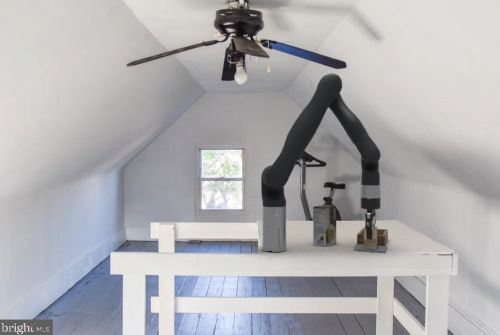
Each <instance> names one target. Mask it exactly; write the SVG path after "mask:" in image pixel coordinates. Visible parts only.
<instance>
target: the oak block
mask: <svg viewBox="0 0 500 335" xmlns="http://www.w3.org/2000/svg"><path fill="white" fill-rule="evenodd" d="M363 228H364V248H367V249H376V248H377V229H378V227H377V226H374V227H373V230H372V240H369V239H366V229H365V226H364V227H363Z"/></svg>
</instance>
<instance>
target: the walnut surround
mask: <svg viewBox="0 0 500 335" xmlns="http://www.w3.org/2000/svg"><path fill="white" fill-rule="evenodd" d="M388 239H389V229H387V228H386V229H383V228H377V245H378V246H387V243H388V241H389V240H388ZM357 244H363V245H364V227H362V228H361V229H360V230H359V232H357V233H356V245H357Z"/></svg>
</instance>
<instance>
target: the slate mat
mask: <svg viewBox="0 0 500 335" xmlns="http://www.w3.org/2000/svg"><path fill="white" fill-rule="evenodd" d="M353 250H359V251H358V252H364V251H371V252H370V253H379V254H380V253H381V254H386V252H387V250H388V246H387V245H386V246H378V245H377V248H376V249H367V248H364V245H363V244H357V243H356V244H355V246H354V247H353ZM353 250H352V251H353Z"/></svg>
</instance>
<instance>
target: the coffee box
mask: <svg viewBox="0 0 500 335" xmlns="http://www.w3.org/2000/svg"><path fill="white" fill-rule="evenodd" d="M312 208H313V209H312V210H313V211H312V213H313V215H312V219H313V220H312V222H313V225H312V226H313V228H312V230H313V234H312V235H313V237H312V238H313V239H312V240H313V242H312V243H313V246H318V247H329V246H331V245H335V244H337V206H336V205H332V204H320V205H315V206H313V207H312Z"/></svg>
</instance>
